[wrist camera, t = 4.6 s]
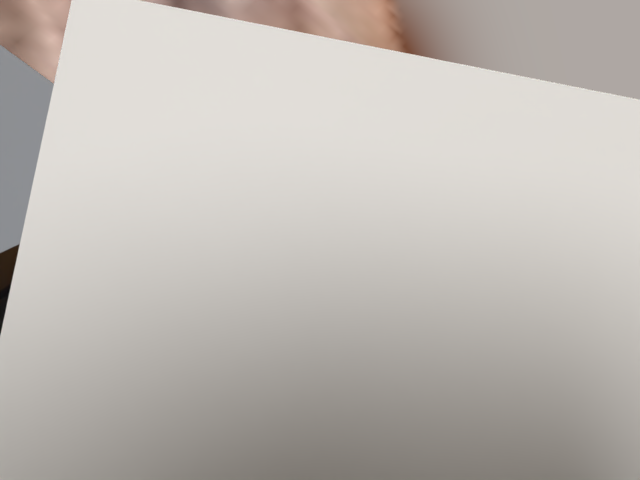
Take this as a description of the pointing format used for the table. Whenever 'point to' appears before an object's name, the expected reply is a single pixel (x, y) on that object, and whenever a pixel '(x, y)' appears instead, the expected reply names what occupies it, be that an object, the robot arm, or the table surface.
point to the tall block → (319, 264)
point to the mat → (19, 140)
